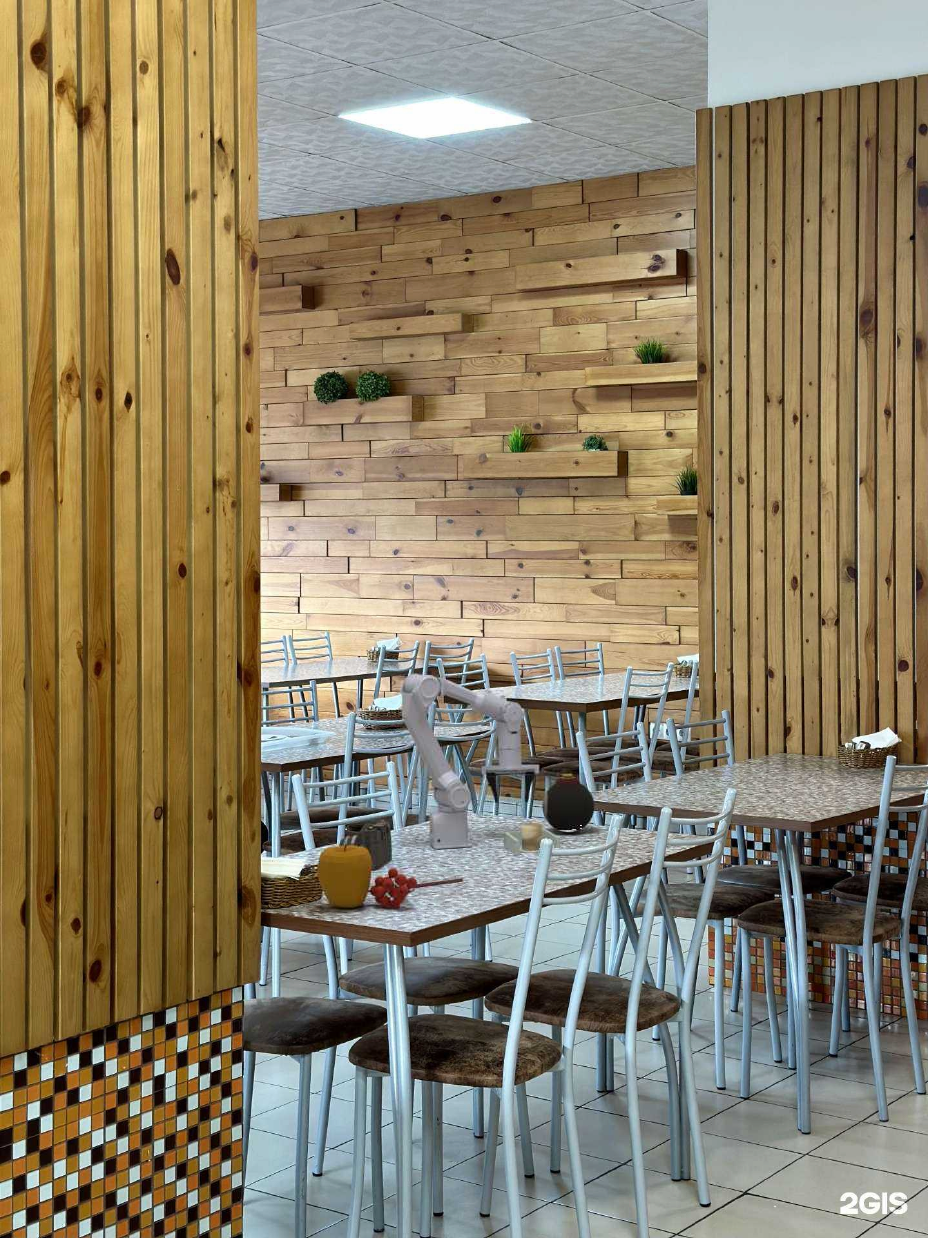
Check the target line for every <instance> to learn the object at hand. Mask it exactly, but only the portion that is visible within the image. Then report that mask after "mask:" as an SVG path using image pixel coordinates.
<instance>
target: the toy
mask: <svg viewBox="0 0 928 1238" xmlns="http://www.w3.org/2000/svg"><path fill="white" fill-rule="evenodd" d="M541 804H542V805H541V806H542V808H541V810H542V813H543V817H544V818H545V820H546V822H547V823H548V824H549V825H550V826H551V827H552V828H553V829H555V830H557V831H558V830H572V829H576V830H579V831H581V830H580V828H583V829H584V828H586V827H587V826H588V824H590V822H591V820H592V818H593V816H594V813H595V801H594V797H593V794H592V793H591V791H590V790H589V788H588V787H587V786H585V785H584V784H583V783H581V781H580V779H579V778H577V777H576V776H573V774H572V773H564V774H562V776H560V777H559V778H557V779H556V780H555V783H554V784H552V786H550V787H549V788H548V789H547V791H546V792H545V794H544V795H543V798H542V803H541ZM580 825H582V826H580Z"/></svg>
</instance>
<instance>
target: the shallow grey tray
mask: <svg viewBox="0 0 928 1238" xmlns="http://www.w3.org/2000/svg"><path fill="white" fill-rule="evenodd" d="M545 838H547V839H551V840H552V841H553V844H554V848H560V849H561V839H560V836H558V835H556V834H554V832H553V833H552V831H551V832H550V831H549V830H548V829H544V828H542V839H545ZM503 846H504V848H505V849H507V850H509V851H510V852H511V853H512V854H514V855H515V856H520V853H521V852H524V853H539V852H538V851H524V850H522V830H517V831H503ZM520 847H521V848H520Z"/></svg>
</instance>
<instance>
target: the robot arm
mask: <svg viewBox="0 0 928 1238" xmlns="http://www.w3.org/2000/svg"><path fill="white" fill-rule="evenodd" d="M399 691H400V694H401V717H402V720H403V722H404V723H405V726H406V727H407V731H408V732H409V735H411V739H413V742H414V744H415V746H416V748H417V750H418V752H419V754H420V756H421V758H422V760H423V763H424V765H425V766H426V769H427V770H428V773H429V774H430V777H431V783H430V785H431V786H432V787H431V788H432V790H433V799H434V801H435V802H436V804H438V808H437V810H436V811H435V810H434V811H429V812H430V813H429V816H428V817H429V818H428V819H429V821H428V822H429V845H430V846H431V847H432V848H434V849H435V850H441V849H455V848H456V849H457V848H469V847H473V844H472V843H471V842H470V841H469V826H468V806H469V805H470V804H471V801H472V793H471V791H470V789H469V788H468V787H467V786H466V785H465V784H463V782H462V781H461V779H460V777H459V776H457V775H456V773H454V771H453V770H452V768H451V766H450V763H449V762H448V760H447V758H446V756H445V754H444V752H443V750H442V748H441V746H440V744H439V741H438V739H437V738H436V735H435V733H434V731H433V730H432V727H431V726H430V723H429V721H428V719H427V717H426V715H427V712H428V710H429V707H430V706H431V705H432V704H433V703H434V701H435V700H436V699H437V697H443V696H447V697H450V698H453V699H456V700H458V701H460V702H461V701H462V702H464V703H467V704H469V705H470V707H471V709H472V711H473V712H476V713H478V714H480V715H483V716H486V717H488V718H490V719H492V720H494V721H496V722H497V741H498V744H497V746H498V764H497V765H496V764H495V765H481V775H485V777H486V778H485V779H486V781H487V783H488V784H489V786H490V790H491V791H492V795H493V800H494V803H495V804H498V802H499V797H498V796H499V795H498V784H497V783H498V777H497V775H498V774H499V775H500V774H503V775H504V774H524V787H525V788H524V789H525V790H524V803H529V796H530V795H529V794H530V790H531V787H532V784H533V781H534V779H535V776H536V774H540V765H539V764H522V742H521V738H522V737H521V734H522V733H521V724H522V721H523V720H524V717H525V712H524V711H523V707H522V706H521V705H520V704H519V703H518V702H515V701H508V700H507V699H508V698H507V697H505V696H501V697H500V696H498V695H496V694H494V693H492V690H489V689H484V690H483V689H480V690H477V691H473V690H471V689H468V688H466V687H464V686H462V685H460V684H457V683H455V682H453V681H450V680H448V679H445V678H441V677H436V676H434V675H432V674H431V675H430V674H419V673H411V674H409V675H408V676H406V677H405V678H404V680H403V683H402V685H401V687H400V690H399Z"/></svg>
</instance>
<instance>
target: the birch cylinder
mask: <svg viewBox="0 0 928 1238" xmlns="http://www.w3.org/2000/svg"><path fill="white" fill-rule="evenodd" d="M520 825H521V831H522V846H521V848H522V850H524V851H538V850H539V848H540V842H541V840H542V830H543V824H542V823H540V822H525V823H521V824H520Z"/></svg>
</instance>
